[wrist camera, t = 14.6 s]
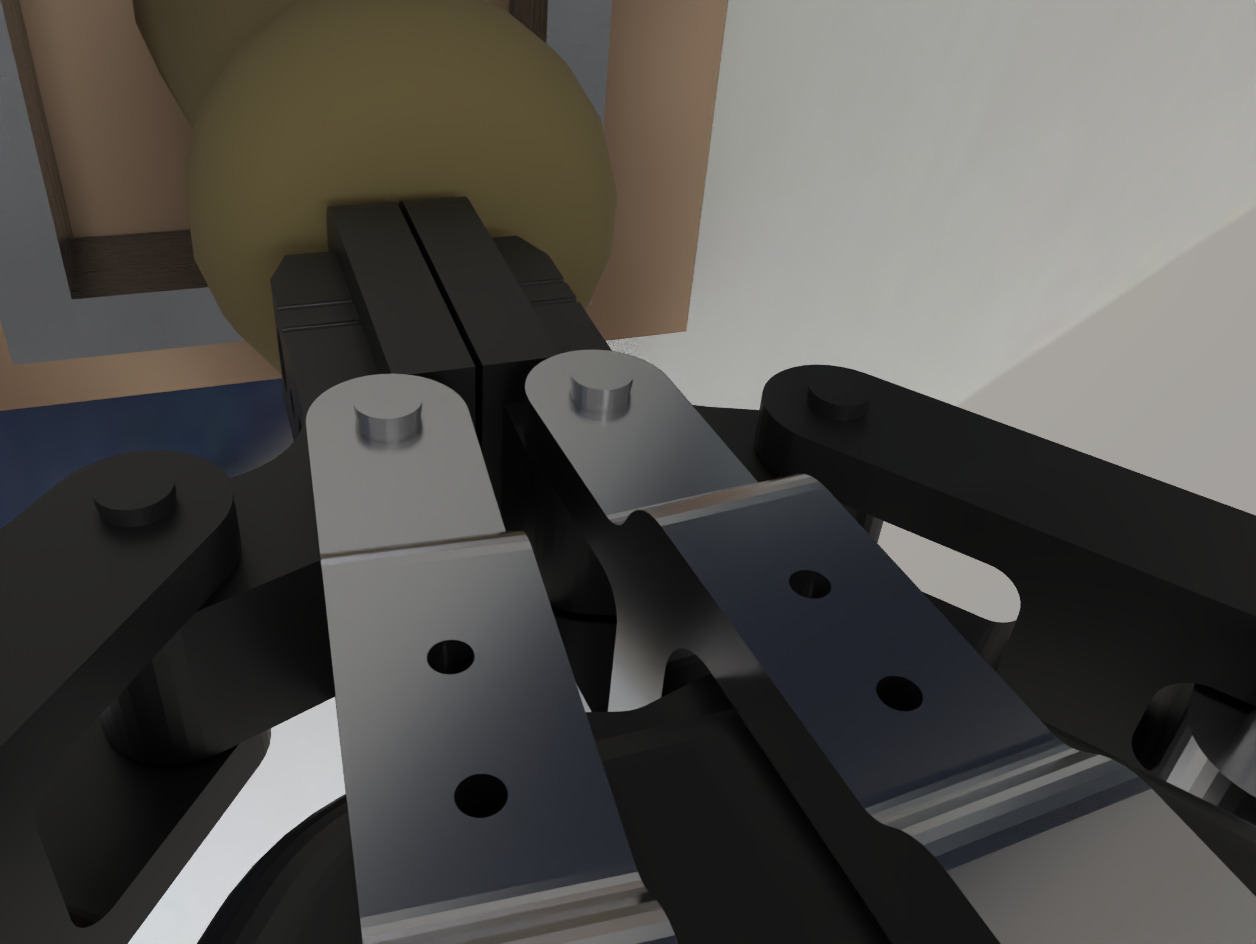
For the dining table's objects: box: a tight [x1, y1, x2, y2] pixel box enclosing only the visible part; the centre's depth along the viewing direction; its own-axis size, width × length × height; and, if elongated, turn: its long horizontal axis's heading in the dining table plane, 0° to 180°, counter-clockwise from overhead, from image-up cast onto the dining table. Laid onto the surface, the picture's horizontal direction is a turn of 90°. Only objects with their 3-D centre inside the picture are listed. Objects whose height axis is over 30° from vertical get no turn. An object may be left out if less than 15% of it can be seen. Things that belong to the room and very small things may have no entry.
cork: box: [132, 0, 618, 374], centre depth 17 cm, size 6×6×11 cm
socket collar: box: [0, 0, 612, 365], centre depth 20 cm, size 11×11×2 cm
